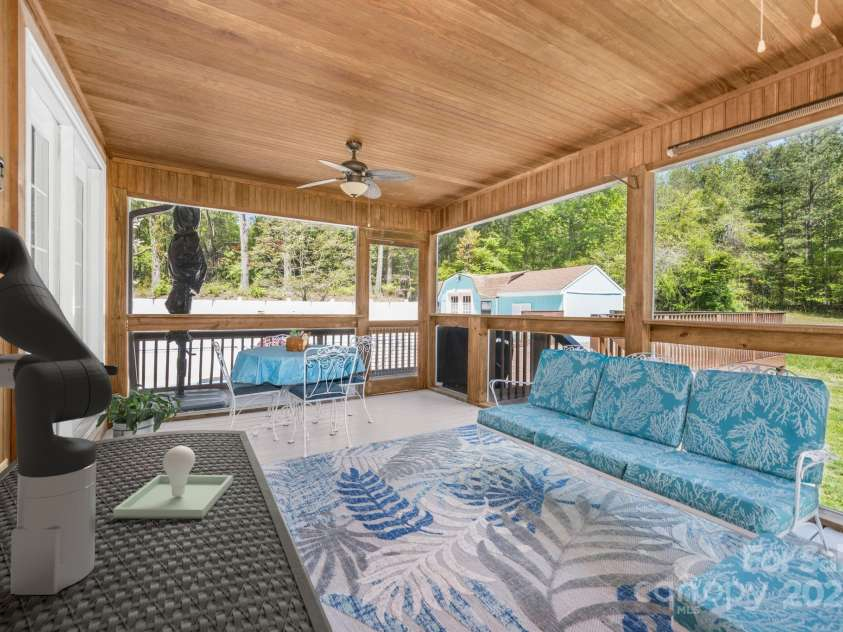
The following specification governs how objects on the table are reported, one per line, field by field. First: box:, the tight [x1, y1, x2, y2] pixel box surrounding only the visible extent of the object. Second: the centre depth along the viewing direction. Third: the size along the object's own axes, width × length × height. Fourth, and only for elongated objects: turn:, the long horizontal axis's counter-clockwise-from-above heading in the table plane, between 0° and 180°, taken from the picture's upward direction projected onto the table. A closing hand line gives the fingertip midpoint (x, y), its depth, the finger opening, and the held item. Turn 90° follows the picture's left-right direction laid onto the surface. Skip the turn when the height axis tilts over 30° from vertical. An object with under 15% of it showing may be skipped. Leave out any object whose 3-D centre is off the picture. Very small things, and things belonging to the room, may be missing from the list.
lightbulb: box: [162, 445, 196, 498], centre depth 93 cm, size 6×6×11 cm
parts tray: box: [112, 474, 234, 520], centre depth 93 cm, size 17×17×2 cm
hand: (105, 373), depth 95 cm, fingers open, 8 cm apart
